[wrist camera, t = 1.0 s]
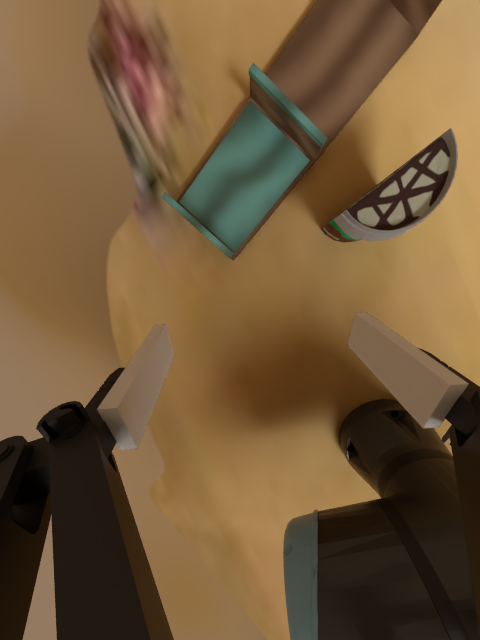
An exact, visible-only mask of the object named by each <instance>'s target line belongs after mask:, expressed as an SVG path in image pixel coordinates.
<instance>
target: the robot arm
mask: <svg viewBox="0 0 480 640" xmlns="http://www.w3.org/2000/svg"><path fill="white" fill-rule="evenodd" d="M347 346H348V347H349V348H350V349H351V350H352V351H353V352H354V353H355V354H356V355H357V356H358V358H359V359H360V360H361V361H362V362H363V363H364V364H365V365H366V366H367V367H368V369H369V370H370V371H371V372H372V373H373V374H374V375H375V376H376V377H377V378H378V380H379V381H380V382H381V383H382V384H383V385H384V386H385V387H386V388H387V389H388V391H389V392H390V393H391V394H392V395H393V396H394V397H395V398H396V399H397V400H398V401H395V400H377V401H373V402H369V403H367V404H364V405H362V406H360V407H359V408H357V409H356V410H354V411H353V412H352V413H351V414H350V415H349V416H348V417H347V418H346V420H345V421H344V423H343V425H342V427H341V430H340V438H339V439H340V446H341V449H342V451H343V453H344V455H345V457H346V459H347V460H348V462H349V464H350V465H351V466H352V468H353V469H354V470H355V471H356V472H357V473H358V474H359V475H360V476H361V477H362V478H363V479H364V480H365V481H366V482H367V483H368V484H369V485H370V486H371V487H372V488H373V489H374V490H375V491H376V492H377V493H378V494H379V495H380V497H381V499H377V500H372V501H367V502H362V503H357V504H352V505H347V506H343V507H338V508H333V509H328V510H323V511H318V510H314V512H313V513H310V514H307V515H303V516H299V517H296V518H293V519H292V520H291V521H290V522H289V523H288V525H287V527H286V530H285V535H284V548H283V558H284V581H285V595H286V606H287V616H288V624H289V632H290V640H480V387H479V386H478V385H476V384H475V383H473V382H472V381H470V380H469V379H467V378H466V377H464V376H463V375H461V374H460V373H459V372H457V371H456V370H454V369H453V368H451V367H448V365H447V364H445V363H444V362H442V361H440V360H439V359H438V358H437V357H435V356H434V355H432V354H431V353H429V352H426V351H424V350H422V349H420V348H417V347H416V346H414V345H413V344H411V343H410V342H408V341H407V340H406V339H404V338H403V337H401V336H400V335H398V334H397V333H396V332H394V331H393V330H391V329H390V328H388V327H387V326H386V325H384V324H383V323H381V322H380V321H378V320H377V319H376V318H374V317H373V316H371V315H370V314H368V313H367V312H359V313H355V317H354V321H353V325H352V329H351V333H350V337H349V340H348V344H347ZM173 359H174V352H173V348H172V344H171V340H170V337H169V333H168V329H167V325H166V324H162V325H155V326H154V327H153V329H152V330H151V332H150V333H149V335H148V336H147V337H146V339H145V340H144V342H143V343H142V345H141V346H140V348H139V349H138V350H137V352H136V353H135V355H134V356H133V358H132V359H131V361H130V362H129V364H128V365H127V366H126V368H118V369H117V370H116V371H114V372H113V373H112V374H110V376H109V377H108V378H107V379H106V381H105V382H104V384H103V385H102V386H101V387H100V389H99V391H97V393H96V394H95V395H94V397H93V398H92V399H91V401H90V402H89V403H88V405H87V406H86V407H85V408H84V407H83V405H82V404H81V403H80V402H77V401H73V402H67V403H64V404H61V405H59V406H57V407H55V408H54V409H52V410H50V411H49V412H48V413H47V414H46V415H44V416H43V417H42V419H41V420H40V421H39V422H38V425H37V428H36V429H37V430H38V431H39V432H40V433H41V434H42V435H43V438H40V439H37V440H34V441H31V442H27V441H26V439H24V437H23V436H13V437H10V438H7V439H5V440H2V441H0V640H22V639H23V634H24V630H25V626H26V622H27V617H28V613H29V608H30V604H31V600H32V596H33V591H34V587H35V583H36V578H37V574H38V569H39V565H40V561H41V557H42V552H43V548H44V543H45V539H46V535H47V530H48V526H49V521H50V517H51V513H52V535H53V559H54V582H55V604H56V626H57V627H56V628H57V640H174V639H173V636H172V633H171V630H170V627H169V624H168V621H167V618H166V615H165V612H164V608H163V605H162V602H161V599H160V596H159V593H158V590H157V587H156V584H155V581H154V578H153V575H152V572H151V568H150V565H149V562H148V559H147V556H146V553H145V550H144V547H143V544H142V541H141V538H140V535H139V532H138V529H137V525H136V522H135V519H134V516H133V513H132V510H131V507H130V504H129V501H128V498H127V495H126V492H125V489H124V486H123V483H122V480H121V477H120V473H119V471H118V467H117V464H116V461H115V458H114V455H113V454H112V450H113V448H114V446H115V444H116V443H117V445H118V447H119V448H120V450H131V449H138V447H139V444H140V442H141V439H142V437H143V434H144V432H145V429H146V427H147V424H148V422H149V419H150V417H151V414H152V412H153V409H154V407H155V404H156V402H157V399H158V397H159V394H160V392H161V389H162V387H163V384H164V382H165V379H166V376H167V374H168V371H169V369H170V366H171V364H172V361H173ZM445 418H446V419H447V420H448V421H449V422H450V423H451V424H452V425H451V427H450V428H449V429H448V431H447V432H446V433H445V435H444V436H443V438H442V440H441V438H440V437H439V435H438V434H437V432H436V431H435V429H434V428H435V427H440V425H441V424H442V422H443V421H444V419H445ZM449 438H450V441H451V443H450V445H451V447H452V454H453V456H452V455H451V453H450V452H449V450H448V449H447V447H446V446H445V444H444V443H443V442H446V440H447V439H449Z"/></svg>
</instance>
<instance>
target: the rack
mask: <svg viewBox="0 0 480 640" xmlns="http://www.w3.org/2000/svg"><path fill="white" fill-rule="evenodd" d="M441 1H442V0H317V2H316V3H315V5H314V6H313V8H312V9H311V10H310V12H309V13H308V15H307V16H306V18H305V19H304V20H303V22H302V23H301V25H300V26H299V28H298V29H297V30H296V32H295V33H294V35H293V36H292V37H291V39H290V40H289V42H288V43H287V45H286V46H285V47H284V49H283V50H282V52H281V53H280V55H279V56H278V57H277V59H276V60H275V62H274V63H273V65H272V66H271V67H270V69H269V70H268V72H267V73H266V75H265V74H264V73H263V72H262V71H261V70H260V69H259V68H258V67H257V66H256V65H255V64H254V63H253V64H252V65H251V67H250V68H249V75H250V97H249V99H248V100H247V102H246V103H245V105H244V106H243V107H242V109H241V110H240V112H239V113H238V115H237V116H236V117H235V119H234V120H233V122H232V123H231V124H230V126H229V127H228V129H227V130H226V132H225V133H224V134H223V136H222V137H221V139H220V140H219V142H218V143H217V144H216V146H215V147H214V149H213V150H212V152H211V153H210V154H209V156H208V157H207V159H206V160H205V162H204V163H203V164H202V166H201V167H200V169H199V170H198V172H197V173H196V174H195V176H194V177H193V179H192V180H191V182H190V183H189V184H188V186H187V187H186V189H185V190H184V192H183V193H182V194H181V196H180V197H179V199H178V200H177V202H176V201H175V200H174V199H173V198H171V197H170V196H169V195H168V194H167V193H166V192H165V193H164V195H163V196H162V198H163V199H164V200H166V201H167V202H168V203H169V204H170V205H171V206H172V207H173V208H174V209H176V210H177V211H178V212H179V213H180V214H181V215H182V216H183V217H184V218H186V219H187V220H188V221H189V222H190V223H191V224H192V225H193V226H195V227H196V228H197V229H198V230H199V231H200V232H201V233H202V234H203V235H205V236H206V237H207V238H208V239H209V240H210V241H211V242H212V243H213V244H215V245H216V246H217V247H218V248H219V249H220V250H221V251H222V252H223V253H225V254H226V255H227V256H228V257H229V258H231V259H233V260H235V258H236V257H237V256H238V255H239V254H240V252H241V251H242V250H243V249H244V247H245V246H246V245H247V244H248V243H249V241H250V240H251V239H252V238H253V237H254V235H255V234H256V233H257V232H258V230H259V229H260V228H261V227H262V226H263V224H264V223H265V222H266V221H267V220H268V218H269V217H270V216H271V215H272V213H273V212H274V211H275V210H276V209H277V207H278V206H279V205H280V204H281V203H282V201H283V200H284V199H285V198H286V196H287V195H288V194H289V193H290V192H291V190H292V189H293V188H294V187H295V186H296V184H297V183H298V182H299V181H300V179H301V178H302V177H303V176H304V175H305V173H306V172H307V171H308V170H309V168H310V167H311V166H312V165H313V164H314V162H315V161H316V160H317V159H318V158H319V156H320V155H321V154H322V153H323V151H324V150H325V149H326V148H327V147H328V145H329V144H330V143H331V142H332V141H333V139H334V138H335V137H336V136H337V134H338V133H339V132H340V131H341V130H342V128H343V127H344V126H345V125H346V124H347V122H348V121H349V120H350V119H351V117H352V116H353V115H354V114H355V113H356V111H357V110H358V109H359V108H360V107H361V105H362V104H363V103H364V102H365V100H366V99H367V98H368V97H369V96H370V94H371V93H372V92H373V91H374V90H375V88H376V87H377V86H378V85H379V83H380V82H381V81H382V80H383V79H384V77H385V76H386V75H387V74H388V73H389V71H390V70H391V69H392V68H393V66H394V65H395V64H396V63H397V62H398V60H399V59H400V58H401V57H402V55H403V54H404V53H405V52H406V51H407V49H408V48H409V47H410V46H411V45H412V43H413V42H414V41H415V40H416V38H417V37H418V35H419V34H420V32H421V31H422V29H423V28H424V26H425V25H426V23H427V22H428V20H429V19H430V17H431V16H432V14H433V13H434V12H435V10H436V9H437V7H438V6H439V4H440V3H441Z"/></svg>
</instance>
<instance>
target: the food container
mask: <svg viewBox="0 0 480 640" xmlns="http://www.w3.org/2000/svg"><path fill="white" fill-rule="evenodd" d="M457 158H458V152H457V143H456V139H455V135H454V133H453V131H452V128H450V129H449V130H448V131H446V132H445V133H444V134H442V135H441V136H440V137H438V138H437V139H436V140H435V141H433V142H432V143H431V144H429V145H428V146H427V147H426V148H424V149H423V150H422V151H420V152H419V153H418V154H416V155H415V156H414V157H413V158H411V159H410V160H409V161H407V162H406V163H405V164H403V165H402V166H401V167H400V168H398V169H397V170H396V171H394V172H393V173H392V174H391V175H389V176H388V177H387V178H385V179H384V180H383V181H381V182H380V183H379V184H378V185H376V186H375V187H374V188H372V189H371V190H370V191H369V192H367V193H366V194H365V195H363V196H362V197H361V198H360V199H358V200H357V201H356V202H354V203H353V204H352V205H351V206H349V207H348V208H347V209H346V210H344V211H343V212H342V213H340V214H339V215H338V216H337V217H335V218H334V219H333V220H332V221H330V222H329V223H328V224H326V225H325V226H324V227H323V228H321V230H322V231H323V232H324V233H325V234H326V235H327V236H329V237H330V238H332V239H333V240H336V241H340V242H353V241H358V240H362V239H363V240H367V241H380V240H387V239H390V238H394V237H396V236H399V235H401V234H403V233H405V232H406V231H408V230H410V229H411V228H413V227H414V226H416V225H417V224H419V223H420V222H422V221H423V220H424V219H425V218H427V217H428V216H429V215H430V214H431V213H432V212H433V211H434V209H435V208H436V207H437V206H438V205H439V204H440V203H441V201H442V200H443V198H444V197H445V196H446V194H447V192H448V190H449V188H450V186H451V184H452V181H453V179H454V176H455V172H456V167H457Z"/></svg>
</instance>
